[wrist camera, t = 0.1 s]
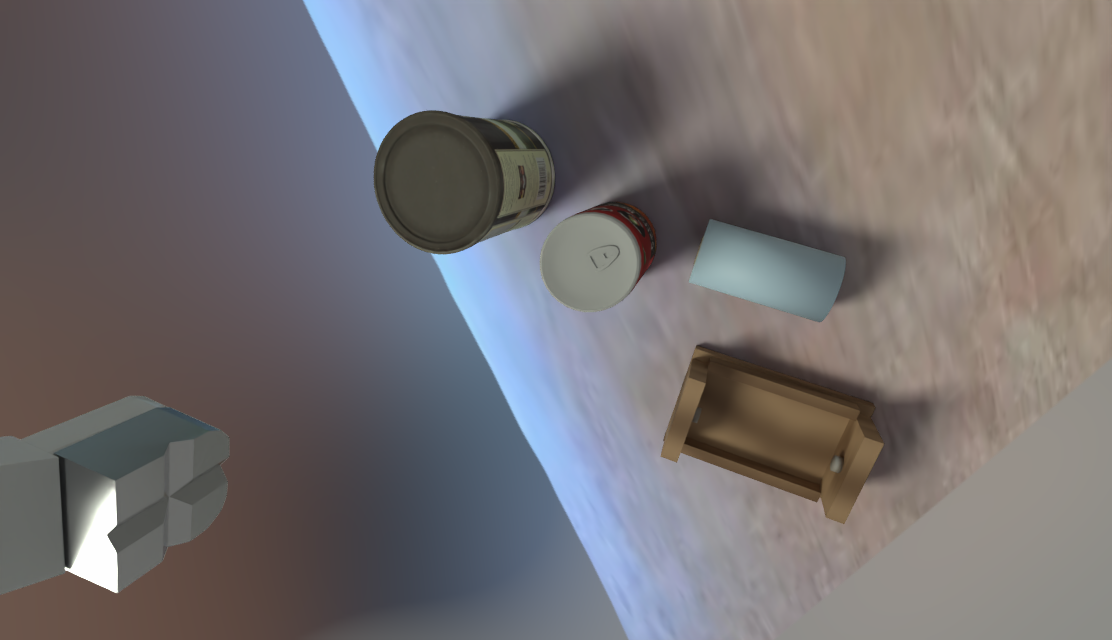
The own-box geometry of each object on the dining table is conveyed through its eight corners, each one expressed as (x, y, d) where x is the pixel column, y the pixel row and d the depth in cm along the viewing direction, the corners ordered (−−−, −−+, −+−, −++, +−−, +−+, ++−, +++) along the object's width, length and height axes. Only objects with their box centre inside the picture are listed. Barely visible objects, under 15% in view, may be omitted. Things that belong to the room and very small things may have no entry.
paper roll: (710, 214, 52) (707, 222, 47) (840, 251, 50) (852, 264, 45) (690, 274, 54) (685, 288, 49) (814, 312, 52) (823, 331, 47)
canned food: (675, 242, 53) (661, 264, 43) (613, 301, 56) (587, 334, 46) (616, 182, 53) (589, 189, 43) (557, 243, 57) (519, 263, 46)
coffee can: (436, 150, 57) (349, 150, 44) (527, 99, 54) (460, 83, 41) (482, 247, 59) (411, 275, 46) (573, 204, 55) (523, 221, 42)
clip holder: (696, 345, 55) (692, 367, 50) (873, 403, 52) (889, 433, 47) (664, 436, 59) (657, 465, 53) (828, 495, 56) (839, 533, 50)
